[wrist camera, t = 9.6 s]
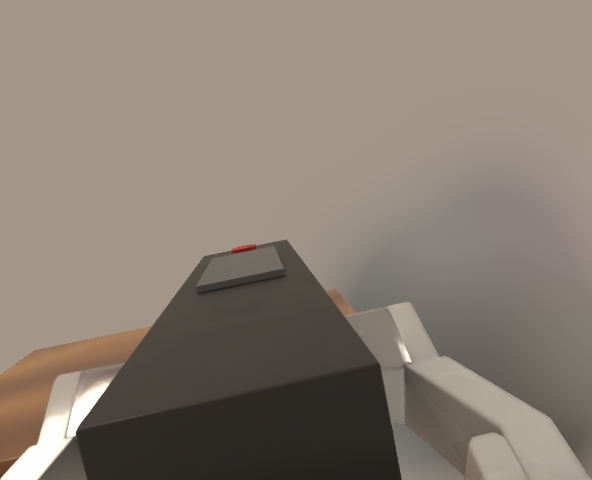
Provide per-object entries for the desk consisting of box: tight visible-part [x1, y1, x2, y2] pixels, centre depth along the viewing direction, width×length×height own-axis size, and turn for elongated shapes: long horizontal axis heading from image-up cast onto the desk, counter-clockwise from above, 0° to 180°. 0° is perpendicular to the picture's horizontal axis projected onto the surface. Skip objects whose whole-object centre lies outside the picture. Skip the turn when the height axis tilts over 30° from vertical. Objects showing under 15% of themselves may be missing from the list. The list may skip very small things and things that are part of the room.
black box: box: [75, 240, 401, 480], centre depth 17 cm, size 20×4×2 cm, turn 5°
